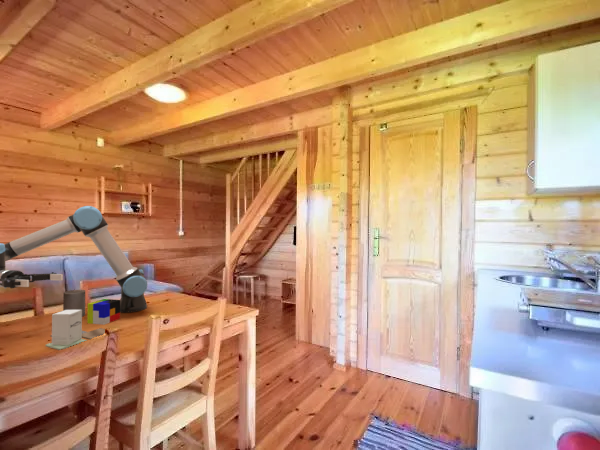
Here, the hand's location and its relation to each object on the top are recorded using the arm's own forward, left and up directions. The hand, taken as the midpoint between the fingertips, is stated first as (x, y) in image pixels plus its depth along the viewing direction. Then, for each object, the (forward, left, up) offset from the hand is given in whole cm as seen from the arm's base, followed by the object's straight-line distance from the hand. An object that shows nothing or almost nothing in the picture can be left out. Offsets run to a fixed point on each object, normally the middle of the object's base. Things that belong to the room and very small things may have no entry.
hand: (45, 280), depth 128 cm
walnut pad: (-14, +11, -26) cm, 31 cm away
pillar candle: (-26, -27, -26) cm, 46 cm away
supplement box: (-2, +11, -25) cm, 28 cm away
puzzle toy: (-28, -5, -26) cm, 39 cm away
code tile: (-9, 0, -26) cm, 27 cm away
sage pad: (-2, +11, -26) cm, 28 cm away
